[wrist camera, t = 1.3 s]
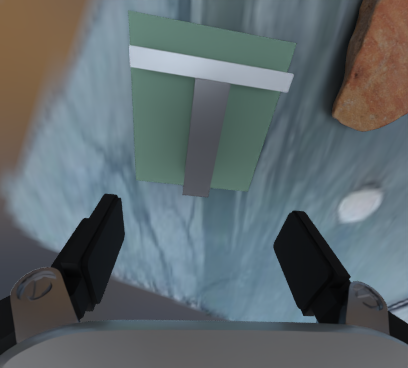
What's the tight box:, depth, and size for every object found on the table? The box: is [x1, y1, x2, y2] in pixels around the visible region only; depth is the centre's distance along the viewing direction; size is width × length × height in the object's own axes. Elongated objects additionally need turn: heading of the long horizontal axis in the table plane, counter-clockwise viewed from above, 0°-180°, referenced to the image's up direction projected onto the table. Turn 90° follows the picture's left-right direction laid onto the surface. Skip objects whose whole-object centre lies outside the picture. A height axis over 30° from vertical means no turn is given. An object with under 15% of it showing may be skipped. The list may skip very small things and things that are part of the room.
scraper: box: [129, 45, 294, 197], centre depth 21 cm, size 14×14×5 cm
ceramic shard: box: [332, 0, 408, 132], centre depth 19 cm, size 15×6×15 cm
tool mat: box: [128, 11, 297, 192], centre depth 24 cm, size 16×18×1 cm
